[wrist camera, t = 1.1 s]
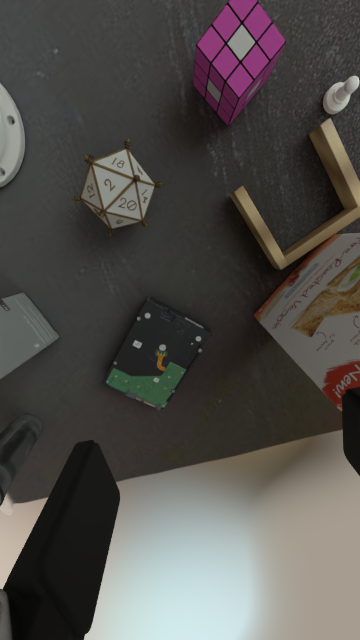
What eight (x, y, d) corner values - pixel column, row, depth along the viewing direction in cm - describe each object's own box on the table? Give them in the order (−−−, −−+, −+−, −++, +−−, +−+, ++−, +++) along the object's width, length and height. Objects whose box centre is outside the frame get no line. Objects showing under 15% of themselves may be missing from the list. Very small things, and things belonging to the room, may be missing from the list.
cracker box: (322, 231, 31) (564, 215, 12) (353, 260, 33) (623, 292, 13) (248, 314, 35) (337, 410, 15) (279, 337, 36) (399, 457, 16)
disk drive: (148, 293, 34) (106, 375, 38) (145, 298, 32) (100, 385, 35) (211, 327, 36) (164, 402, 40) (213, 334, 33) (163, 414, 37)
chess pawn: (334, 80, 27) (356, 58, 23) (350, 97, 27) (374, 77, 24) (317, 104, 27) (336, 85, 24) (333, 120, 28) (354, 103, 24)
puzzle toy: (227, 126, 28) (239, 99, 23) (192, 84, 27) (195, 44, 21) (265, 81, 27) (287, 41, 21) (230, 35, 25) (243, -21, 20)
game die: (143, 193, 33) (188, 166, 26) (123, 250, 33) (162, 242, 25) (78, 146, 28) (110, 94, 20) (53, 214, 28) (75, 188, 20)
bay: (229, 196, 30) (233, 192, 28) (317, 127, 28) (330, 117, 26) (273, 268, 33) (280, 270, 31) (357, 211, 31) (371, 208, 28)
